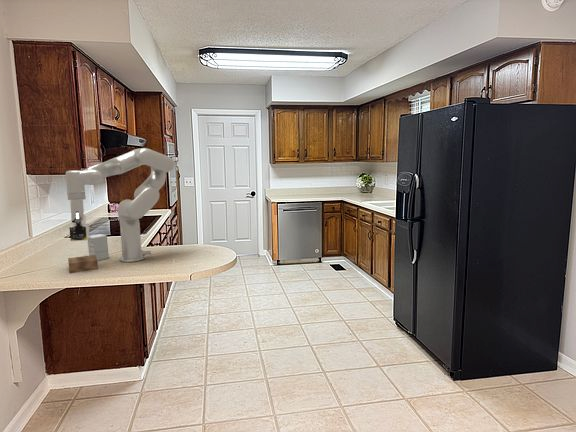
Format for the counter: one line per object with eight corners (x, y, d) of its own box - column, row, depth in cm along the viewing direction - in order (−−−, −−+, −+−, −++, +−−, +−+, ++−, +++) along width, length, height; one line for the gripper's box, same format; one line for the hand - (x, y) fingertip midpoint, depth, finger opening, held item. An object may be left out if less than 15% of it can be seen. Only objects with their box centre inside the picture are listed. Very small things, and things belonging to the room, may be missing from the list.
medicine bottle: (70, 241, 191) (68, 216, 189) (74, 238, 197) (71, 214, 196) (86, 240, 192) (84, 215, 191) (90, 237, 199) (87, 213, 197)
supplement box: (102, 256, 220) (100, 233, 218) (109, 258, 216) (107, 235, 214) (88, 259, 215) (86, 235, 213) (95, 261, 210) (93, 237, 208)
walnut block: (95, 264, 205) (94, 254, 204) (98, 270, 195) (97, 260, 194) (69, 268, 199) (68, 258, 199) (69, 274, 189) (68, 263, 188)
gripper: (68, 195, 198) (72, 230, 201) (66, 198, 182) (69, 236, 185) (85, 194, 201) (88, 229, 204) (84, 197, 186) (88, 235, 188)
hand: (79, 232), depth 194 cm, fingers closed on medicine bottle, 7 cm apart
